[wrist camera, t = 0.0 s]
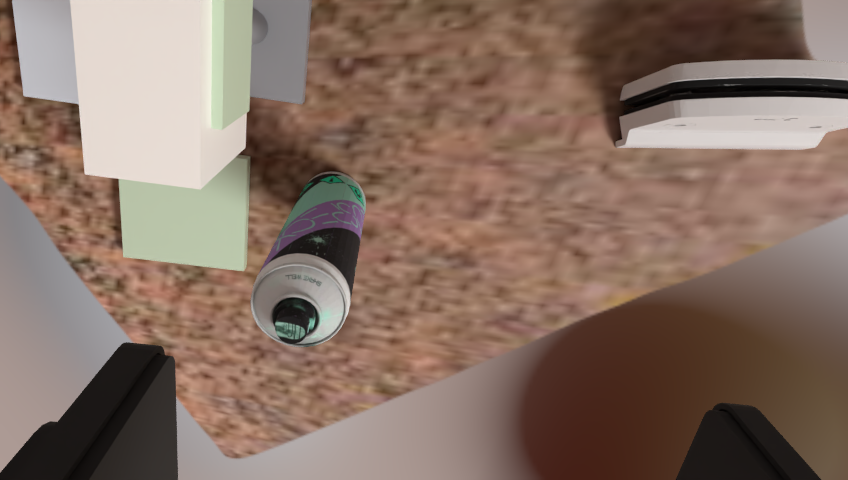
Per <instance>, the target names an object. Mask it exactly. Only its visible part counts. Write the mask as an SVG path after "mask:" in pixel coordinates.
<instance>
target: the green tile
mask: <svg viewBox="0 0 848 480" xmlns="http://www.w3.org/2000/svg"><path fill="white" fill-rule="evenodd" d="M250 157H251V156H245V155H237V156H236V157H235V158H234V159H233V160H232V161H231V162H230V163H229V164H227V165H226V166H225V167H224V168H223V169H222V170H221V171H220V172H219V173H218V174H217V175H216V176H215V177H213V178H212V179H211V180H210V181H209V182H208V183H207V184H206V185H205V186H204V187H203V188H202V189H201V190H200V189H193V188H185V187H177V186H170V185H162V184H155V183H147V182H139V181H132V180H124V179H119V193H120V210H121V226H122V243H123V257H128V258H137V259H145V260H154V261H162V262H170V263H179V264H187V265H196V266H204V267H213V268H221V269H230V270H238V271H244V270H245V268H246V266H247V241H248V213H249V185H250Z"/></svg>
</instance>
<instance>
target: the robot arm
mask: <svg viewBox="0 0 848 480" xmlns="http://www.w3.org/2000/svg"><path fill="white" fill-rule="evenodd" d="M176 425H177V422H176V381H175V360H174V357H172V356H166V355H165V353H164V349H163V347H161V346H157V345H147V344H137V343H123V344H122V345H121V346H120V347H119V348H118V349H117V350H116V351H115V352H114V354H113V355H112V356H111V357H110V359H109V360H108V361H107V362H106V363H105V365H104V366H103V367H102V368H101V370H100V371H99V372H98V373H97V374H96V376H95V377H94V378H93V379H92V381H91V382H90V383H89V384H88V386H87V387H86V388H85V389H84V390H83V391H82V393H81V394H80V395H79V396H78V398H77V399H76V400H75V401H74V403H73V404H72V405H71V406H70V408H69V409H68V410H67V411H66V412H65V414H64V415H63V416H62V417H61V418H60V420H59V421H58V422H48V423H46V424H44V425H42V426H41V427H40V428H39V429H38V430H37V431H36V432H35V433H34V434H33V435H32V436H31V437H30V439H29V440H28V441H27V442H26V443H25V444H24V446H23V447H22V448H21V449H20V450H19V451H18V453H17V454H16V455H15V456H14V457H13V459H12V460H11V461H10V462H9V463H8V464H7V466H6V467H5V468H4V469H3V470H2V472H1V473H0V480H178V466H177V465H178V463H177V426H176ZM676 480H821V479H820V478H819V477H818V476H817V474H816V473H815V472H814V471H813V470H812V469H811V468H810V467H809V465H808V464H807V463H806V462H805V461H804V460H803V459H802V458H801V456H800V455H799V454H798V453H797V452H796V451H795V450H794V449H793V448H792V447H791V445H790V444H789V443H788V442H787V441H786V440H785V439H784V438H783V436H782V435H781V434H780V433H779V432H778V431H777V430H776V429H775V427H774V426H773V425H772V424H771V423H770V422H769V421H768V420H767V418H766V417H764V415H763V414H762V413H761V412H760V411H759V410H758V409H757V408H755V407H753V406H749V405H739V404H729V403H720V404H717V405H716V406H714V408H713V410H709V411H708V412H706V414H705V415H704V417H703V419H702V422H701V424H700V426H699V429H698V431H697V433H696V435H695V437H694V440H693V442H692V444H691V446H690V449H689V451H688V453H687V456H686V458H685V460H684V462H683V464H682V467H681V469H680V471H679V474H678V476H677V478H676Z"/></svg>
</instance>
